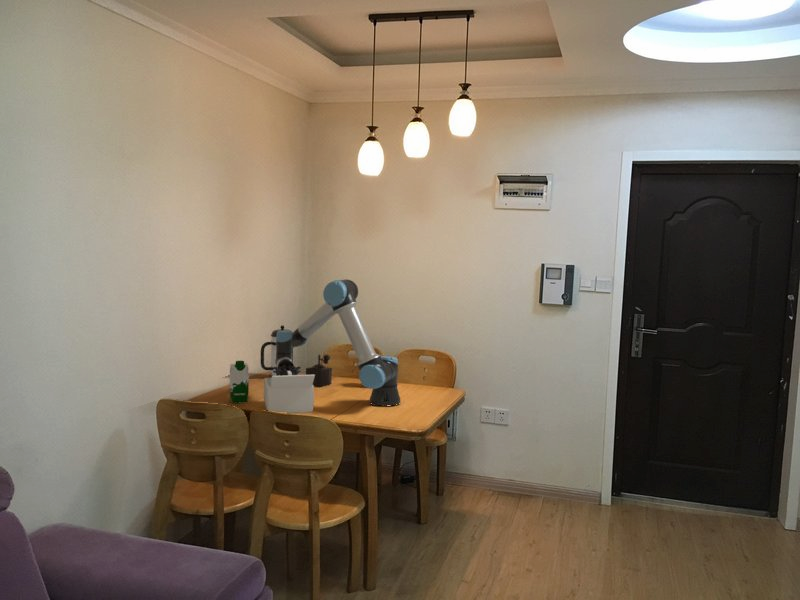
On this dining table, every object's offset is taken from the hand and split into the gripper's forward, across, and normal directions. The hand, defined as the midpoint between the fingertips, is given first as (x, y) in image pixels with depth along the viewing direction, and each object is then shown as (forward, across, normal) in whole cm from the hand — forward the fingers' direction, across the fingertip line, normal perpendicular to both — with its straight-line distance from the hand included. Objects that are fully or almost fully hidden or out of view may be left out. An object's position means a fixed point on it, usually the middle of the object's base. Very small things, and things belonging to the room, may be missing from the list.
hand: (290, 376), depth 296 cm
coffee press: (-82, -3, -19) cm, 85 cm away
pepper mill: (-60, -23, -18) cm, 67 cm away
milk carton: (-31, +21, -18) cm, 42 cm away
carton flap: (0, -1, -2) cm, 2 cm away
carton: (-16, -1, -18) cm, 24 cm away
